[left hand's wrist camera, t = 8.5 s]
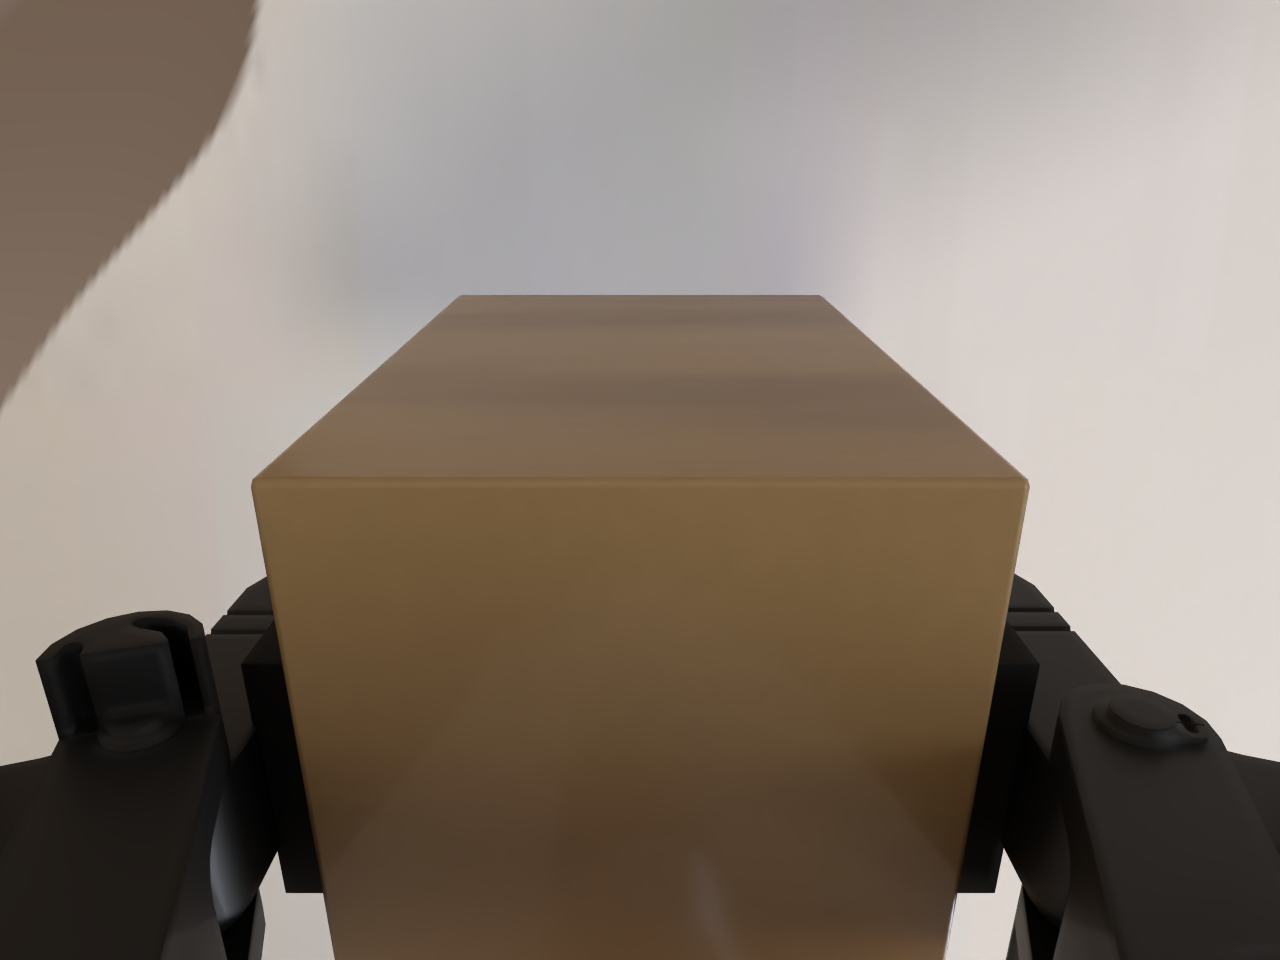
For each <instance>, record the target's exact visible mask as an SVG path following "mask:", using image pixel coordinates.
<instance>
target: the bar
mask: <svg viewBox="0 0 1280 960" xmlns="http://www.w3.org/2000/svg"><path fill="white" fill-rule="evenodd" d="M251 489H252V495H253V501H254V506H255V512H256V518H257V523H258V529H259V534H260V540H261V546H262V551H263V557H264V563H265V568H266V574H267V580H268V585H269V591H270V596H271V602H272V608H273V613H274V619H275V625H276V630H277V636H278V642H279V647H280V653H281V658H282V664H283V670H284V675H285V681H286V687H287V692H288V698H289V703H290V709H291V715H292V720H293V726H294V732H295V737H296V743H297V749H298V754H299V760H300V765H301V771H302V777H303V782H304V788H305V794H306V799H307V805H308V810H309V816H310V822H311V827H312V833H313V839H314V844H315V850H316V856H317V861H318V867H319V872H320V878H321V884H322V889H323V895H324V901H325V906H326V912H327V917H328V923H329V929H330V934H331V940H332V946H333V951H334V957H335V960H945V959H946V954H947V948H948V942H949V937H950V931H951V926H952V920H953V914H954V909H955V903H956V898H957V892H958V886H959V881H960V875H961V869H962V864H963V858H964V853H965V847H966V841H967V836H968V830H969V824H970V819H971V813H972V808H973V802H974V796H975V791H976V785H977V780H978V774H979V768H980V763H981V757H982V751H983V746H984V740H985V735H986V729H987V723H988V718H989V712H990V707H991V701H992V695H993V690H994V684H995V678H996V673H997V667H998V662H999V656H1000V650H1001V645H1002V639H1003V633H1004V628H1005V622H1006V617H1007V611H1008V605H1009V600H1010V594H1011V589H1012V583H1013V577H1014V572H1015V566H1016V560H1017V555H1018V549H1019V544H1020V538H1021V532H1022V527H1023V521H1024V516H1025V510H1026V504H1027V499H1028V493H1029V483H1028V479H1027V478H1026V477H1024V476H1023V475H1022V474H1021V473H1020V472H1019V471H1018V470H1017V469H1015V468H1014V467H1013V466H1012V465H1011V464H1010V463H1009V462H1008V461H1006V460H1005V459H1004V458H1003V457H1002V456H1001V455H1000V454H999V453H997V452H996V451H995V450H994V449H993V448H992V447H991V446H990V445H988V444H987V443H986V442H985V441H984V440H983V439H982V438H981V437H980V436H978V435H977V434H976V433H975V432H974V431H973V430H972V429H971V428H969V427H968V426H967V425H966V424H965V423H964V422H963V421H962V420H960V419H959V418H958V417H957V416H956V415H955V414H954V413H953V412H951V411H950V410H949V409H948V408H947V407H946V406H945V405H944V404H942V403H941V402H940V401H939V400H938V399H937V398H936V397H935V396H933V395H932V394H931V393H930V392H929V391H928V390H927V389H926V388H924V387H923V386H922V385H921V384H920V383H919V382H918V381H917V380H915V379H914V378H913V377H912V376H911V375H910V374H909V373H908V372H906V371H905V370H904V369H903V368H902V367H901V366H900V365H899V364H898V363H896V362H895V361H894V360H893V359H892V358H891V357H890V356H889V355H887V354H886V353H885V352H884V351H883V350H882V349H881V348H880V347H878V346H877V345H876V344H875V343H874V342H873V341H872V340H871V339H869V338H868V337H867V336H866V335H865V334H864V333H863V332H862V331H860V330H859V329H858V328H857V327H856V326H855V325H854V324H853V323H851V322H850V321H849V320H848V319H847V318H846V317H845V316H844V315H842V314H841V313H840V312H839V311H838V310H837V309H836V308H835V307H833V306H832V305H831V304H830V303H829V302H828V301H827V300H826V299H824V298H823V297H822V296H820V295H461V296H459V297H458V298H456V299H455V300H454V301H453V302H452V303H451V304H450V305H449V306H447V307H446V308H445V309H444V310H443V311H442V312H441V313H440V314H438V315H437V316H436V317H435V318H434V319H433V320H432V321H431V322H429V323H428V324H427V325H426V326H425V327H424V328H423V329H421V330H420V331H419V332H418V333H417V334H416V335H415V336H414V337H412V338H411V339H410V340H409V341H408V342H407V343H406V344H405V345H403V346H402V347H401V348H400V349H399V350H398V351H397V352H396V353H394V354H393V355H392V356H391V357H390V358H389V359H388V360H387V361H385V362H384V363H383V364H382V365H381V366H380V367H379V368H378V369H376V370H375V371H374V372H373V373H372V374H371V375H370V376H369V377H367V378H366V379H365V380H364V381H363V382H362V383H361V384H360V385H358V386H357V387H356V388H355V389H354V390H353V391H352V392H351V393H349V394H348V395H347V396H346V397H345V398H344V399H343V400H341V401H340V402H339V403H338V404H337V405H336V406H335V407H334V408H332V409H331V410H330V411H329V412H328V413H327V414H326V415H325V416H323V417H322V418H321V419H320V420H319V421H318V422H317V423H316V424H314V425H313V426H312V427H311V428H310V429H309V430H308V431H307V432H305V433H304V434H303V435H302V436H301V437H300V438H299V439H298V440H296V441H295V442H294V443H293V444H292V445H291V446H290V447H289V448H287V449H286V450H285V451H284V452H283V453H282V454H281V455H280V456H278V457H277V458H276V459H275V460H274V461H273V462H272V463H271V464H269V465H268V466H267V467H266V468H265V469H264V470H263V471H261V472H260V473H259V474H258V475H257V476H256V477H255V478H254V479H253V481H252V485H251Z"/></svg>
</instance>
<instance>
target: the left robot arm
mask: <svg viewBox="0 0 1280 960" xmlns="http://www.w3.org/2000/svg"><path fill="white" fill-rule="evenodd" d="M36 664H37V668H38V671H39V674H40V678H41V681H42V684H43V688H44V691H45V694H46V698H47V701H48V704H49V708H50V711H51V714H52V718H53V721H54V724H55V728H56V731H57V734H58V738H59V741H58V743H57V745H56V747H55V749H54V751H53V753H52V755H51V756H47V757H43V758H39V759H35V760H29V761H24V762H19V763H14V764H9V765H4V766H0V960H261V957H262V949H263V941H264V933H265V918H264V911H263V905H262V900H261V896H260V891H259V886H260V884H261V882H262V880H263V878H264V876H265V874H266V872H267V870H268V868H269V867H270V865H271V863H272V861H273V859H274V857H275V855H276V853H277V851H278V855H279V860H280V865H281V870H282V875H283V881H284V886H285V891H286V893H323V889H322V884H321V878H320V872H319V867H318V861H317V856H316V850H315V844H314V839H313V833H312V827H311V822H310V816H309V810H308V805H307V799H306V794H305V788H304V782H303V777H302V771H301V765H300V760H299V754H298V749H297V743H296V737H295V732H294V726H293V720H292V715H291V709H290V703H289V698H288V692H287V687H286V681H285V675H284V670H283V664H282V658H281V653H280V647H279V642H278V636H277V630H276V625H275V619H274V613H273V608H272V602H271V596H270V591H269V585H268V580H267V577H265V578H263V579H262V580H260V581H258V582H257V583H255V584H253V585H252V586H250V587H248V588H247V589H246V590H245V591H244V592H243V593H242V594H241V596H240V597H239V598H238V599H237V600H236V601H235V603H234V604H233V605H232V606H231V607H230V608H229V609H228V611H227V615H223V616H222V618H221V619H220V620H219V621H218V622H217V623H216V624H215V626H214V627H213V628H212V629H211V634H207V635H206V636H205V633H204V628H203V624H202V623H201V622H199V621H198V620H196V619H195V618H194V617H192V616H191V615H189V614H184V613H178V612H173V611H168V610H167V611H145V612H135V613H131V614H126V615H121V616H116V617H111V618H107V619H104V620H102V621H99V622H96V623H93V624H91V625H88V626H85V627H83V628H80V629H77V630H75V631H74V632H72V633H70V634H68V635H67V636H65V637H63V638H62V639H60V640H58V641H56V642H55V643H53V644H51V645H50V646H49V647H48V648H47V649H46V650H45V651H44V652H43V653H42V655H41V656H40V657H39V658H38V659H37V660H36ZM1003 848H1004V849H1005V851H1006V853H1007V855H1008V857H1009V859H1010V861H1011V863H1012V865H1013V867H1014V869H1015V871H1016V873H1017V874H1018V876H1019V878H1020V880H1021V882H1022V886H1021V891H1020V896H1019V900H1018V905H1017V910H1016V914H1015V919H1014V924H1013V929H1012V933H1011V938H1010V943H1009V947H1008V952H1007V957H1006V960H1280V762H1276V761H1271V760H1266V759H1261V758H1256V757H1251V756H1246V755H1241V754H1237V753H1233V752H1229V751H1227V750H1226V748H1225V746H1224V744H1223V742H1222V740H1221V738H1220V737H1219V736H1218V734H1217V733H1216V732H1215V731H1214V730H1213V728H1212V727H1211V726H1210V725H1209V723H1208V722H1207V721H1206V720H1204V719H1203V718H1202V717H1200V716H1199V715H1197V714H1196V713H1194V712H1193V711H1191V710H1190V709H1188V708H1187V707H1185V706H1184V705H1183V704H1180V703H1178V702H1176V701H1173V700H1171V699H1169V698H1166V697H1164V696H1162V695H1159V694H1157V693H1155V692H1152V691H1148V690H1143V689H1139V688H1135V687H1131V686H1127V685H1121V684H1120V683H1119V682H1118V681H1117V679H1116V678H1115V677H1114V676H1113V675H1112V674H1111V672H1110V671H1109V670H1108V669H1107V668H1106V667H1105V666H1104V664H1103V663H1102V662H1101V661H1100V660H1099V659H1098V658H1097V656H1096V655H1095V654H1094V653H1093V652H1092V651H1091V650H1090V648H1089V647H1088V646H1087V645H1086V644H1085V643H1084V642H1083V640H1082V639H1081V638H1080V637H1079V636H1078V635H1077V634H1076V632H1075V631H1070V626H1069V624H1068V623H1067V622H1066V621H1065V620H1064V619H1063V618H1062V616H1061V615H1060V614H1059V613H1058V612H1054V607H1053V606H1052V605H1051V604H1050V603H1049V602H1048V600H1047V599H1046V598H1045V597H1044V596H1043V595H1042V594H1041V592H1040V591H1039V590H1038V589H1037V588H1036V587H1035V586H1034V585H1033V584H1031V583H1030V582H1028V581H1026V580H1024V579H1023V578H1021V577H1019V576H1018V575H1016V574H1014V577H1013V583H1012V589H1011V594H1010V600H1009V605H1008V611H1007V617H1006V622H1005V628H1004V633H1003V639H1002V645H1001V650H1000V656H999V662H998V667H997V673H996V678H995V684H994V690H993V695H992V701H991V707H990V712H989V718H988V723H987V729H986V735H985V740H984V746H983V751H982V757H981V763H980V768H979V774H978V780H977V785H976V791H975V796H974V802H973V808H972V813H971V819H970V824H969V830H968V836H967V841H966V847H965V853H964V858H963V864H962V869H961V875H960V881H959V886H958V892H957V893H995V889H996V884H997V879H998V874H999V869H1000V864H1001V859H1002V853H1003Z"/></svg>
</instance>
